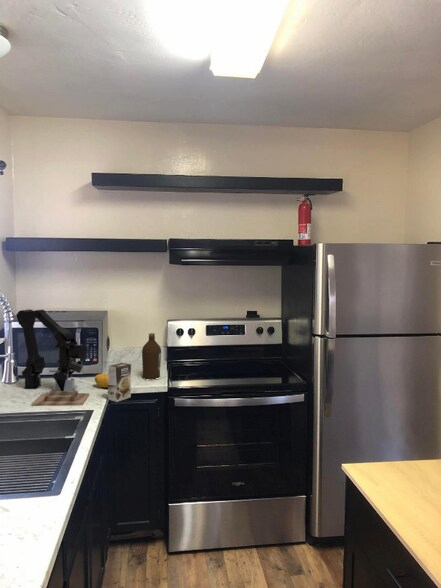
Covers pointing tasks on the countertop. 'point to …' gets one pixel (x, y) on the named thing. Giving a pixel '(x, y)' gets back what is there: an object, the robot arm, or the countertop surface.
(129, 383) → the coffee box
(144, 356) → the olive oil
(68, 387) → the block
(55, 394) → the brown wooden board
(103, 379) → the potato
